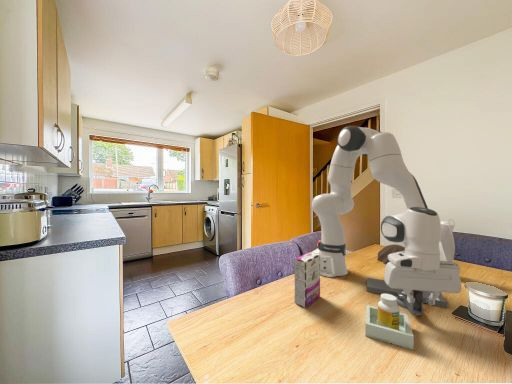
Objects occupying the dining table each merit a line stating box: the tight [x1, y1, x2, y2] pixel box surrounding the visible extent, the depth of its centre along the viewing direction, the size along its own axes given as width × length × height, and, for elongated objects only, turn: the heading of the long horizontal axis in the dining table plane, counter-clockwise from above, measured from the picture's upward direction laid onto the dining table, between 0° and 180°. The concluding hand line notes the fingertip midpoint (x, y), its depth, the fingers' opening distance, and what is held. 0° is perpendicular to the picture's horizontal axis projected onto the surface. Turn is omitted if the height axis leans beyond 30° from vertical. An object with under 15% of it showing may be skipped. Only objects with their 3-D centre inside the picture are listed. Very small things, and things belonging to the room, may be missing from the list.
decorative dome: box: [377, 244, 405, 265], centre depth 121 cm, size 19×20×10 cm
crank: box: [397, 290, 424, 316], centre depth 73 cm, size 14×5×8 cm, turn 163°
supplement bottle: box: [377, 294, 400, 330], centre depth 62 cm, size 5×5×10 cm
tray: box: [365, 304, 415, 351], centre depth 62 cm, size 11×11×4 cm
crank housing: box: [366, 277, 448, 309], centre depth 82 cm, size 25×17×2 cm
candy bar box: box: [293, 251, 321, 309], centre depth 79 cm, size 11×5×16 cm, turn 138°
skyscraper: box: [439, 219, 456, 262], centre depth 101 cm, size 8×8×28 cm
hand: (420, 303), depth 67 cm, fingers open, 4 cm apart
